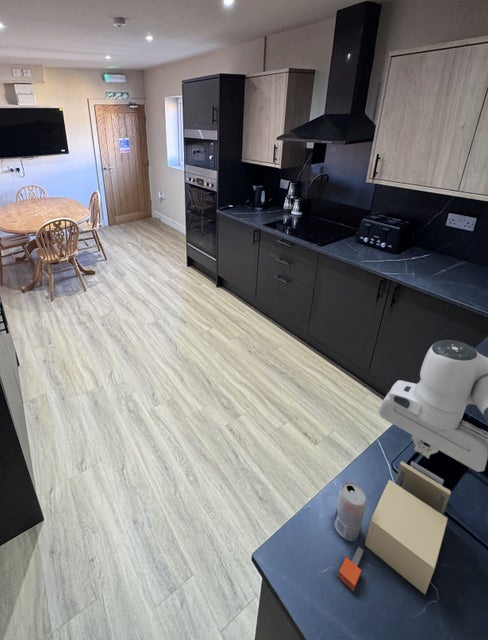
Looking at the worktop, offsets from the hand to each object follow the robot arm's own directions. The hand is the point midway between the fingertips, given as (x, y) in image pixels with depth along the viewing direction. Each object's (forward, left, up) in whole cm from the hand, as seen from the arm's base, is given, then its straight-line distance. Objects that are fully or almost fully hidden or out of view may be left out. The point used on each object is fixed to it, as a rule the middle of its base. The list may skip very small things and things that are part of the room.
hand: (422, 452), depth 76 cm
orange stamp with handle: (+15, +18, -17) cm, 29 cm away
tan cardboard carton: (+4, +10, -17) cm, 20 cm away
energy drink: (+16, +10, -17) cm, 26 cm away
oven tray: (-2, 0, -16) cm, 16 cm away
